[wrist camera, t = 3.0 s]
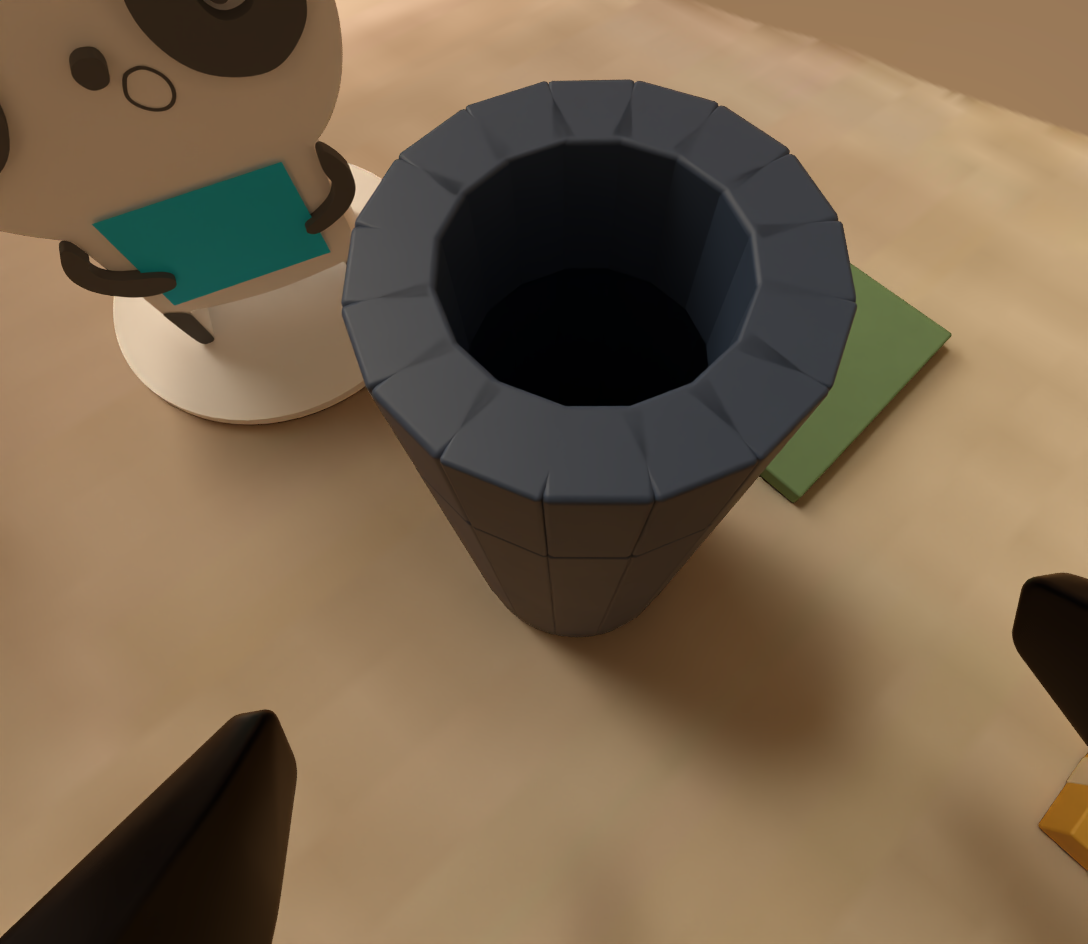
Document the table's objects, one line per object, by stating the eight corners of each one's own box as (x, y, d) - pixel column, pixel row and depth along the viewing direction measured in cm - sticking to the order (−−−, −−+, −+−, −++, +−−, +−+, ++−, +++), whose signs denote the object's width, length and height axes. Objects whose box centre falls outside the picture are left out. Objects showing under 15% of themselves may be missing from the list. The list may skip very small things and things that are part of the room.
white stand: (125, 479, 21) (-828, -11, 6) (83, 221, 24) (-578, -443, 10) (473, 356, 22) (307, -284, 8) (381, 128, 26) (157, -580, 11)
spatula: (941, 344, 21) (959, 328, 20) (793, 504, 20) (804, 494, 19) (689, 167, 24) (695, 145, 23) (540, 291, 23) (540, 273, 22)
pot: (710, 540, 19) (961, 258, 7) (576, 680, 18) (600, 627, 6) (574, 418, 21) (590, 13, 9) (442, 539, 20) (241, 264, 7)
